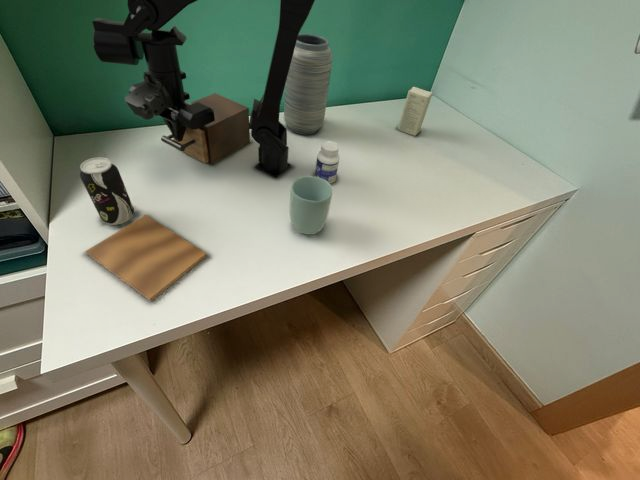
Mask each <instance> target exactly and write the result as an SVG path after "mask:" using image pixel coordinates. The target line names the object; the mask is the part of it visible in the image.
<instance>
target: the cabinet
mask: <svg viewBox="0 0 640 480" xmlns="http://www.w3.org/2000/svg"><path fill="white" fill-rule="evenodd" d="M196 102H199V103H201V104H204V105H206V106H208V107H210V108H211V109H213V110H214V117H215V121H213V122H211V123H209V124H207V125H205V126H202V127H201V128H204V129H206V136H207V143H208V150H209V156H208V158H209V161H208V162H207V163H209V164H211V165H215V164H216V163H218V162H220V161H222V160H224V159H225V158H227V157H228V156H230V155H232V154H234V153H235V152H237V151H238V150H240V149H242V148H243V147H246V146H247V145H249V144H250V143H251V129H249V122H250V108H249V107H248V106H246V105H243V104H241V103H239V102H237V101H234V100H232V99H229V98H227V97H225V96H223V95H220V94H218V93H216V92H215V93H212V94H209V95H206V96H204V97H201V98H199V99H197V100H194V101H192V102H190V103H191V104H194V103H196Z"/></svg>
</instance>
